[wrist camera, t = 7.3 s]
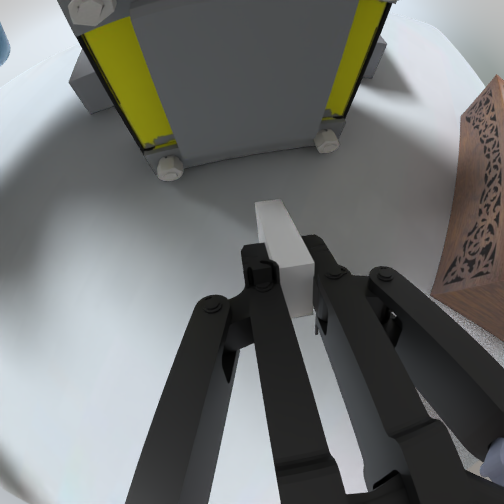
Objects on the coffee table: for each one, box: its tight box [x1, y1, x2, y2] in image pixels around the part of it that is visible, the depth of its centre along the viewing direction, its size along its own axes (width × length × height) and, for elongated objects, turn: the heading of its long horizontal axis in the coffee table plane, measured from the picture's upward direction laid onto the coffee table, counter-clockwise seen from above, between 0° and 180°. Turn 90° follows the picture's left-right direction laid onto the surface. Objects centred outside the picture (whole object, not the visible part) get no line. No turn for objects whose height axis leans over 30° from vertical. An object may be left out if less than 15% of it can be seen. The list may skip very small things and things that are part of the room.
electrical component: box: [57, 0, 397, 181], centre depth 16 cm, size 18×10×20 cm, turn 102°
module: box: [69, 49, 114, 114], centre depth 25 cm, size 5×12×6 cm, turn 9°
